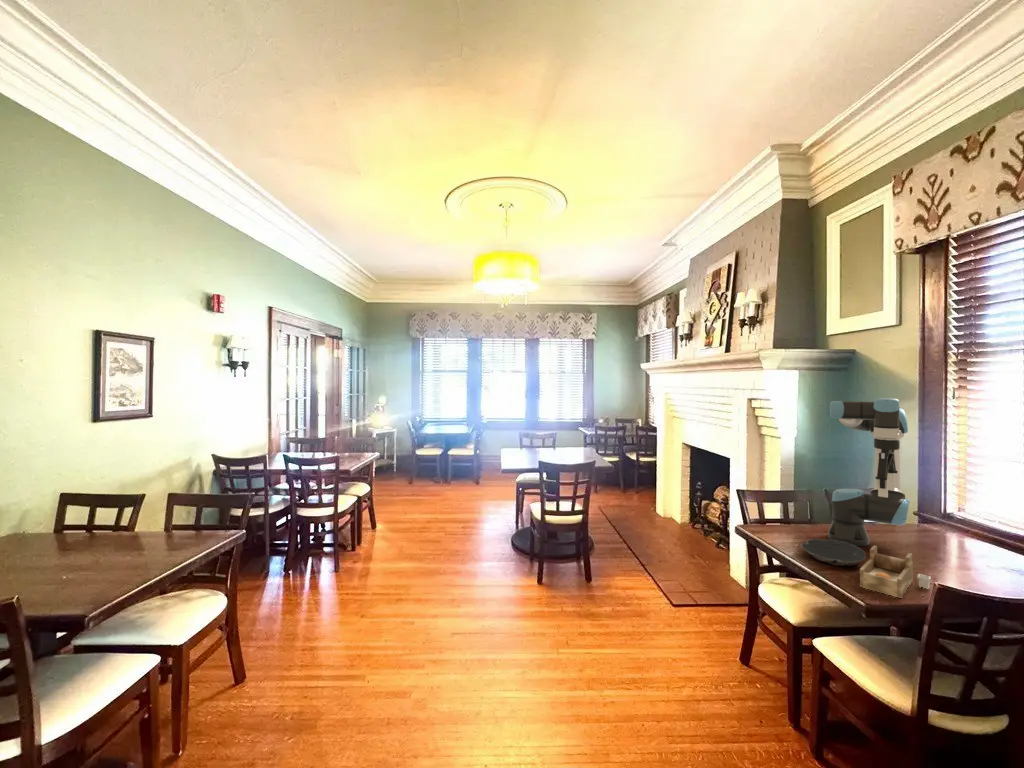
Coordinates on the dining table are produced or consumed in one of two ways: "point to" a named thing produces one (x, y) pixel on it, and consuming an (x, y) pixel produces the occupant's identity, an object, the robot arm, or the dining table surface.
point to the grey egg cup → (924, 581)
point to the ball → (883, 575)
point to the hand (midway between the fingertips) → (886, 493)
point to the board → (834, 552)
